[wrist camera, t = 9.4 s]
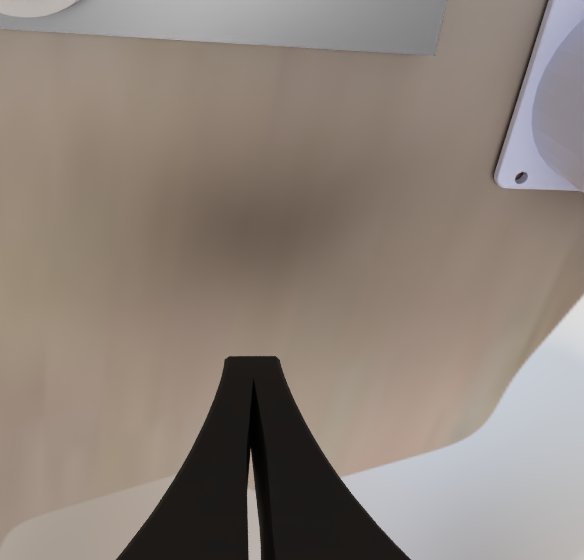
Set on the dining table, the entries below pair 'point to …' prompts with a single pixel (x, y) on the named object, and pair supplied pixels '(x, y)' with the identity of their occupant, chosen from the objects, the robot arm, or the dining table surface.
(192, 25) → the panel
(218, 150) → the dining table surface
